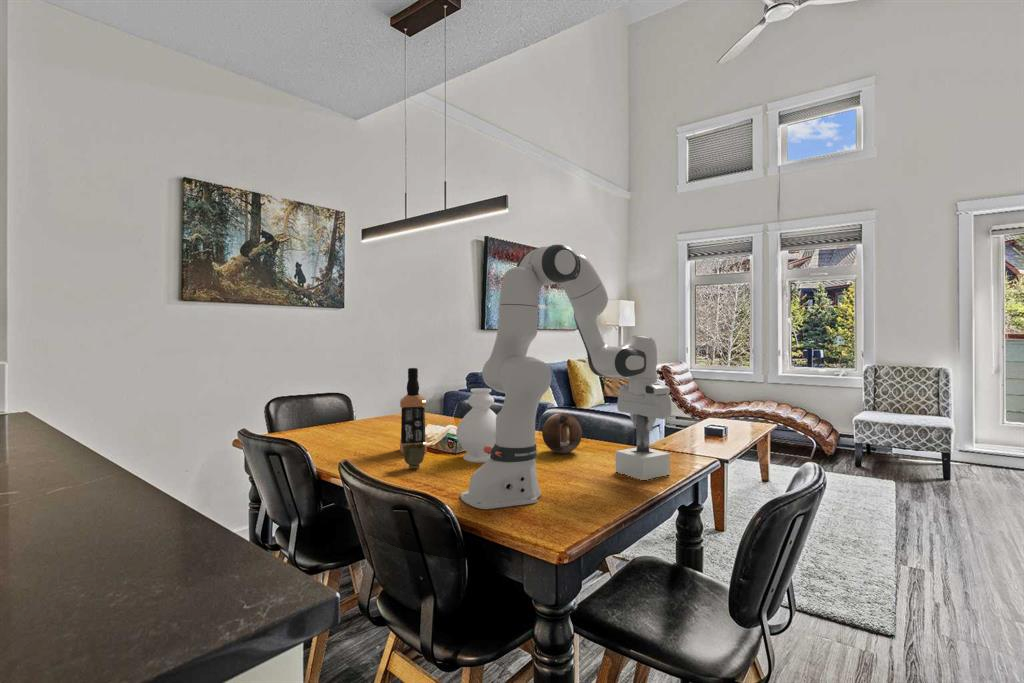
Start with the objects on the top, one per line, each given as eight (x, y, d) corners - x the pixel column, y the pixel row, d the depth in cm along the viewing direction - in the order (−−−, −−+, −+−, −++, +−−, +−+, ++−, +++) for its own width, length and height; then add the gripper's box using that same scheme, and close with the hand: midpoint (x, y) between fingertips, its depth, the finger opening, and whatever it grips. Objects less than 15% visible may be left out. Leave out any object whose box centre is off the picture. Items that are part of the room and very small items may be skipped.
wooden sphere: (547, 447, 205) (547, 409, 205) (585, 450, 200) (585, 411, 200) (537, 455, 191) (537, 415, 190) (577, 458, 186) (577, 417, 186)
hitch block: (643, 481, 158) (643, 458, 158) (615, 472, 168) (615, 450, 168) (669, 475, 164) (670, 453, 164) (641, 467, 175) (641, 446, 174)
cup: (427, 470, 170) (427, 446, 170) (404, 472, 168) (404, 448, 167) (422, 465, 177) (422, 441, 177) (401, 467, 175) (400, 443, 174)
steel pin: (643, 453, 163) (643, 415, 163) (633, 450, 167) (633, 413, 167) (652, 451, 166) (652, 414, 165) (642, 449, 169) (642, 412, 169)
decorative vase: (475, 467, 175) (475, 393, 174) (446, 457, 188) (446, 389, 188) (515, 459, 186) (515, 389, 185) (486, 450, 200) (486, 385, 199)
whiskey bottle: (426, 454, 194) (426, 368, 193) (399, 455, 191) (399, 369, 191) (425, 448, 204) (425, 366, 203) (399, 449, 202) (399, 367, 201)
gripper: (612, 384, 173) (612, 425, 173) (660, 389, 156) (660, 435, 156) (626, 383, 176) (626, 423, 177) (674, 388, 159) (674, 433, 159)
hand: (642, 429), depth 166 cm, fingers closed on steel pin, 4 cm apart
